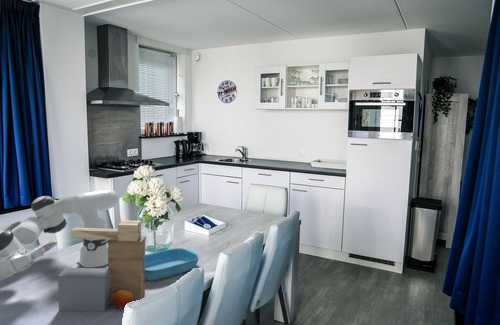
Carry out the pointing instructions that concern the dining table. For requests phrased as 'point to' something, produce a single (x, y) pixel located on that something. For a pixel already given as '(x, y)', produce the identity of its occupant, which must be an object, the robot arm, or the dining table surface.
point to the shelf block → (127, 266)
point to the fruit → (122, 298)
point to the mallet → (110, 232)
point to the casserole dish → (169, 263)
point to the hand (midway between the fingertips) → (50, 246)
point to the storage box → (84, 289)
